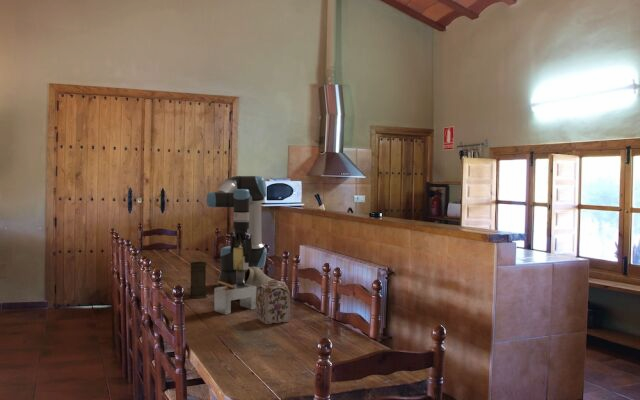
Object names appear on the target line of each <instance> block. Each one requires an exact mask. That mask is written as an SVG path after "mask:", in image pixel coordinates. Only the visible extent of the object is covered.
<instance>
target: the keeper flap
mask: <svg viewBox="0 0 640 400" xmlns="http://www.w3.org/2000/svg"><path fill="white" fill-rule="evenodd" d="M217 282H218V283H220V284H223V285H225V286H227V287H230V288H235V286H233V285H230V284H227V283H225V282H221V281H218V280H217ZM217 282H216V283H217Z"/></svg>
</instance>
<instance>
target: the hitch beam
mask: <svg viewBox="0 0 640 400" xmlns="http://www.w3.org/2000/svg"><path fill="white" fill-rule="evenodd" d="M233 286H235V288H230V287H227V286H224V287H218V286H216V287H214V290H213V291H214V294H213V295H214V297H213V298H214V300H213V301H214V312H216V313H220V314H223V315H228V314H231V310H232V309H231V308H232V306H231V305H232V304H231V303H232V301H235V300H239V306H240V307H243V308H246V309H248V310H255V309H257V298H256V286H255V285H251V284H246V283H245V285H243V286H238V285H233Z"/></svg>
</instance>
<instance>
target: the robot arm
mask: <svg viewBox="0 0 640 400" xmlns="http://www.w3.org/2000/svg"><path fill="white" fill-rule="evenodd" d="M266 184H267V183H266V179H265V178H264V177H263V176H260V175H259V176H257V175H236V176H231V177H229V178H226V179H225V180H223V181H222V182H221V183H220V185H219V188H218V189H217V190H216V191H212V192H211V191H210V192H208V193H207V194H206V205H207V207H208V208H232V209H233V220H234V221H233V223H232V225H233V226H232V228H233V230H235V231H233V232H232V231H231V232H230V236H231V237H230V245H228V246H224V247H222V248H221V249H220V272H219V277H218V280H217V281H221V282H225V283H227V284H230V285H236V269H233V253H234V247H243V252H244V255H243V270H247V269H248V266H249V267H258V268H260V269H262V268H265V264H266V261H267V260H266V258H267V252H268V249H267V247H265V244H264V243H263V241H262V237H263V236H262V235H263V234H262V231H263V230H262V203H263V201H265V198H266V197H267V193H268V192H267V185H266ZM216 283H217V286H216V287H224V286H225V285H223V284H220V283H218V282H216Z"/></svg>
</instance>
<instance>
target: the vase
mask: <svg viewBox="0 0 640 400" xmlns="http://www.w3.org/2000/svg"><path fill="white" fill-rule="evenodd" d="M269 280H275V279H274V278H271V277H270V276H268V275H267V274H265V273H264V271H263V270H262V268H258V267H249V266H248V269H247V270H245V283H246V284H251V285H255V286H256V299H257V289H258V288H259V286H260V285H262V284H265V283H268V281H269ZM278 283H281V284H285V285H286V282H285V281H280V280H278Z"/></svg>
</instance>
